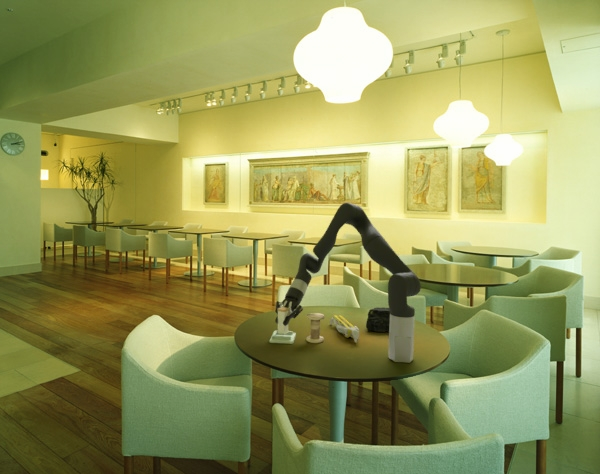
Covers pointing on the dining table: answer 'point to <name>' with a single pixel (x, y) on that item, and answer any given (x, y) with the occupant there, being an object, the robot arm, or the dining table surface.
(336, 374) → the dining table surface
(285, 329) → the block
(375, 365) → the dining table surface
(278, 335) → the ridged board
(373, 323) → the rock
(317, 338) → the bobbin
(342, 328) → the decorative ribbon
